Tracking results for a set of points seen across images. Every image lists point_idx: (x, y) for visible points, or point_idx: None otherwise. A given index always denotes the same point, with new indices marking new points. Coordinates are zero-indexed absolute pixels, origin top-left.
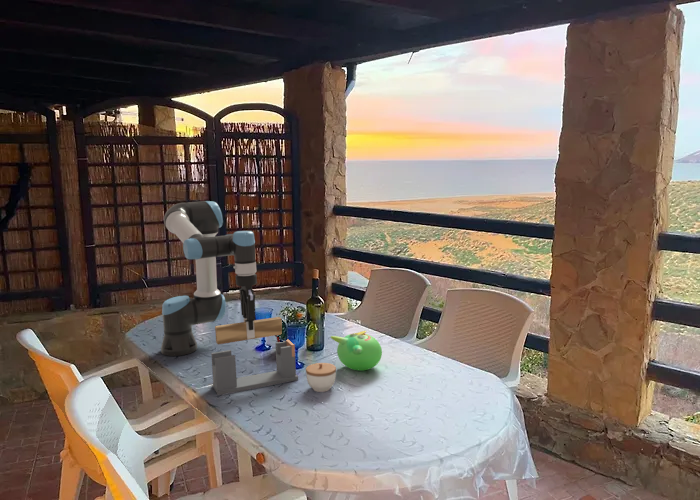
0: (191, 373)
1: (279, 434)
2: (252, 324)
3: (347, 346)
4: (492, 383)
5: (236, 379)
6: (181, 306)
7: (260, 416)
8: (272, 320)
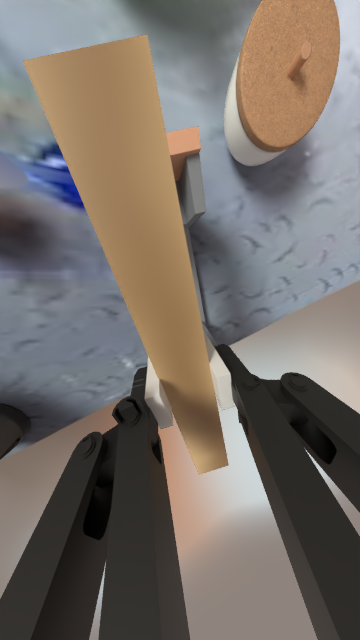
0: (113, 385)
1: (353, 258)
2: (241, 365)
3: None
4: None
5: (204, 325)
6: None
7: (295, 282)
8: (180, 212)
